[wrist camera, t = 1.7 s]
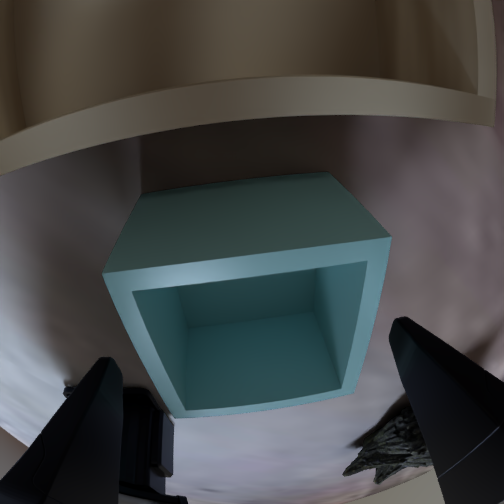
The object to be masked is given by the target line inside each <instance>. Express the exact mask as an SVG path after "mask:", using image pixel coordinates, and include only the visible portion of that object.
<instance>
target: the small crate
mask: <svg viewBox="0 0 504 504" xmlns="http://www.w3.org/2000/svg"><path fill="white" fill-rule="evenodd" d="M391 239H392V236H391V235H390V234H389V233H388V232H387V231H386V230H385V229H384V228H383V227H382V225H381V224H380V223H379V222H378V221H377V220H376V219H375V218H374V217H373V216H372V215H371V214H370V213H369V212H368V211H367V210H366V209H365V208H364V207H363V206H362V204H361V203H360V202H359V201H358V200H357V199H356V198H355V197H354V196H353V195H352V194H351V193H350V192H349V191H348V190H347V189H346V188H345V187H344V186H343V185H342V184H340V183H339V182H338V181H337V180H336V179H335V178H334V177H333V176H332V175H331V174H330V173H329V172H316V173H304V174H292V175H281V176H271V177H261V178H252V179H243V180H234V181H226V182H218V183H211V184H203V185H196V186H189V187H182V188H176V189H169V190H163V191H157V192H151V193H145V194H141V196H140V198H139V200H138V201H137V203H136V205H135V207H134V209H133V211H132V213H131V214H130V216H129V218H128V220H127V222H126V224H125V226H124V228H123V230H122V232H121V234H120V236H119V238H118V240H117V242H116V244H115V246H114V248H113V250H112V252H111V254H110V256H109V258H108V261H107V263H106V265H105V267H104V269H103V271H102V276H103V279H104V281H105V284H106V286H107V288H108V291H109V293H110V295H111V298H112V300H113V302H114V305H115V307H116V309H117V311H118V314H119V316H120V318H121V320H122V322H123V324H124V327H125V329H126V331H127V333H128V335H129V337H130V339H131V341H132V343H133V345H134V347H135V349H136V351H137V353H138V355H139V357H140V359H141V361H142V363H143V365H144V366H145V368H146V370H147V372H148V374H149V376H150V378H151V379H152V381H153V383H154V385H155V386H156V388H157V390H158V392H159V394H160V395H161V397H162V399H163V400H164V402H165V404H166V405H167V407H168V409H169V410H170V412H171V414H172V415H173V417H174V418H195V417H210V416H222V415H232V414H241V413H250V412H258V411H265V410H272V409H278V408H284V407H290V406H296V405H302V404H307V403H312V402H317V401H322V400H327V399H331V398H336V397H340V396H344V395H348V394H353V393H354V391H355V388H356V385H357V381H358V378H359V375H360V372H361V369H362V365H363V362H364V358H365V355H366V352H367V348H368V344H369V341H370V337H371V333H372V329H373V326H374V322H375V318H376V313H377V309H378V305H379V301H380V296H381V292H382V287H383V282H384V277H385V273H386V267H387V262H388V257H389V251H390V245H391Z"/></svg>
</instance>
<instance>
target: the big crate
mask: <svg viewBox="0 0 504 504" xmlns="http://www.w3.org/2000/svg"><path fill="white" fill-rule="evenodd" d="M496 79H497V69H496V41H495V28H494V18H493V10H492V2H491V0H0V176H1V175H4V174H6V173H9V172H12V171H15V170H17V169H20V168H23V167H26V166H29V165H32V164H35V163H38V162H41V161H44V160H47V159H50V158H53V157H57V156H60V155H63V154H67V153H70V152H74V151H77V150H81V149H85V148H89V147H92V146H96V145H100V144H104V143H108V142H113V141H117V140H121V139H126V138H130V137H135V136H140V135H145V134H150V133H155V132H161V131H166V130H172V129H178V128H184V127H191V126H197V125H204V124H212V123H220V122H228V121H237V120H247V119H258V118H271V117H286V116H308V115H380V116H400V117H415V118H427V119H437V120H447V121H455V122H463V123H470V124H477V125H483V126H489V127H494V122H495V108H496Z"/></svg>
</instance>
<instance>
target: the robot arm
mask: <svg viewBox="0 0 504 504" xmlns="http://www.w3.org/2000/svg"><path fill="white" fill-rule="evenodd" d="M389 343H390V346H391V349H392V352H393V356H394V359H395V362H396V365H397V369H398V372H399V375H400V379H401V381H402V384H403V387H404V389H405V391H406V394H407V396H408V399H409V401H410V404H411V406H412V409H413V411H414V414H415V416H416V419H417V422H418V424H419V427H420V430H421V432H422V435H423V438H424V440H425V443H426V446H427V449H428V451H429V454H430V457H431V460H432V463H433V466H434V469H435V472H436V475H437V478H438V482H439V485H440V488H441V491H442V494H443V498H444V501H445V504H504V382H502V381H501V380H499V379H498V378H496V377H495V376H493V375H492V374H491V373H489V372H488V371H486V370H484V369H483V368H482V367H480V366H479V365H478V364H476V363H475V362H473V361H472V360H470V359H469V358H467V357H466V356H465V355H463V354H462V353H460V352H459V351H457V350H456V349H454V348H453V347H451V346H450V345H448V344H447V343H446V342H444V341H443V340H441V339H440V338H438V337H437V336H435V335H434V334H432V333H431V332H429V331H428V330H426V329H425V328H423V327H422V326H420V325H419V324H417V323H416V322H414V321H413V320H411V319H410V318H408V317H406V316H404V317H399V318H396V319H395V320H394V321H393V324H392V327H391V331H390V334H389ZM63 394H64V396H65V397H66V398H67V399H66V400H65V401H64V403H63V404H62V405H61V406H60V408H59V409H58V410H57V412H56V413H55V414H54V416H53V417H52V418H51V419H50V421H49V422H48V423H47V425H46V426H45V427H44V429H43V430H42V431H41V433H40V434H39V435H38V436H37V438H36V439H35V441H34V442H33V443H32V444H31V446H30V447H29V448H28V450H27V451H26V452H25V453H24V454H23V455H22V457H21V458H20V459H19V460H18V461H17V462H16V463H15V465H14V466H13V467H12V468H11V469H10V470H9V471H8V472H7V473H6V475H5V476H4V477H3V478H2V479H1V480H0V504H188V501H187V498H186V497H185V496H179V495H177V496H171V495H166V494H165V477H171V476H172V475H173V444H174V427H173V425H172V424H171V422H170V421H169V419H168V418H167V416H166V415H165V413H164V412H163V411H162V410H161V409H160V408H159V406H158V404H157V403H156V401H155V400H154V398H153V396H152V395H151V393H150V392H149V391H148V390H146V389H143V388H123V376H122V373H121V371H120V369H119V367H118V366H117V364H116V362H115V361H114V359H113V358H112V357H101V358H99V359H98V360H97V361H96V363H95V364H94V365H93V366H92V368H91V369H90V370H89V371H88V372H87V374H86V375H85V376H84V377H83V379H82V380H81V381H80V382H79V384H78V385H77V386H76V387H65V388H64V392H63Z"/></svg>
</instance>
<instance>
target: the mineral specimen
mask: <svg viewBox="0 0 504 504" xmlns="http://www.w3.org/2000/svg"><path fill="white" fill-rule="evenodd" d="M429 465H433V463H432V460H431V457H430V454H429V451H428V449H427V446H426V443H425V440H424V438H423V435H422V432H421V430H420V427H419V424H418V422H417V419H416V416H415V414H414V411H413V409H412V407H406V409H403V410H402V412H401V414H400V415H399V416H396V417H394V418H393V419H391V420H390V421H389V422H388V423H387V424H386V425H385V426H384V427H383V428H381V429H379V430H377V431H375V432H374V433H373V434H371V435H370V436H369V437H367V438H365V440H364V444H363V448H362V450H361V451H360V452H359V453H358V457H357V458H356V459H355V460H354V461H353V462H351V464H350V465H349V466H348V467H347V468H346V469H345V471H344V472H343V474H342V475H343V476H350V475H353V474H356V473H358V472H361V471H363V470H366V469H372V468H376V475H375V478H374V481H373V482H374V483H375V484H378V485H380V484H381V483H382V482H383V481H384V480H385V479H387V478H388V477H390V476H392V475H394V474H396V472H398V471H400V470H401V469H404V468H406V467H416V468H418V467H419V466H424V467H428V466H429Z"/></svg>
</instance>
